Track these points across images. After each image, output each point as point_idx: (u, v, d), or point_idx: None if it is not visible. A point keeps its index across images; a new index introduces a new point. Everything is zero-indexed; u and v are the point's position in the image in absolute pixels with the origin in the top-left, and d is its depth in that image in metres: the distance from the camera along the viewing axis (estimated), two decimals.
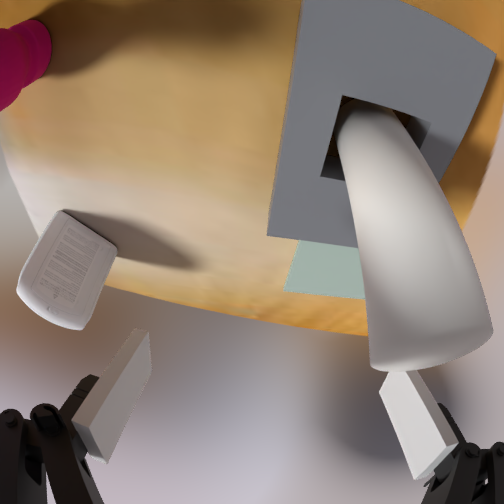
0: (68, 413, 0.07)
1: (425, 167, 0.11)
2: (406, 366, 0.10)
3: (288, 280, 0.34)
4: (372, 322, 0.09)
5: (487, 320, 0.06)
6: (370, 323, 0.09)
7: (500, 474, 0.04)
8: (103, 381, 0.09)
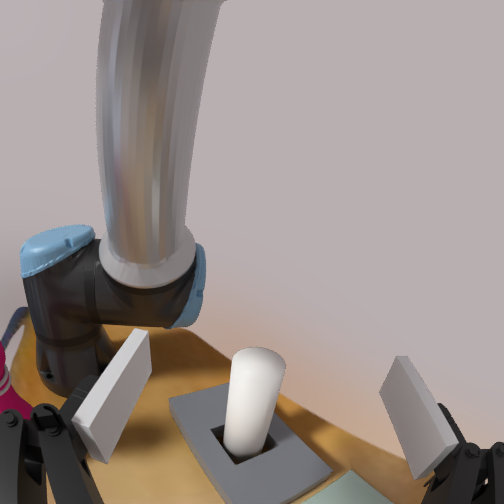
0: (68, 413, 0.07)
1: None
2: (267, 374, 0.23)
3: None
4: (235, 381, 0.24)
5: None
6: (237, 383, 0.24)
7: (500, 474, 0.04)
8: (103, 381, 0.09)
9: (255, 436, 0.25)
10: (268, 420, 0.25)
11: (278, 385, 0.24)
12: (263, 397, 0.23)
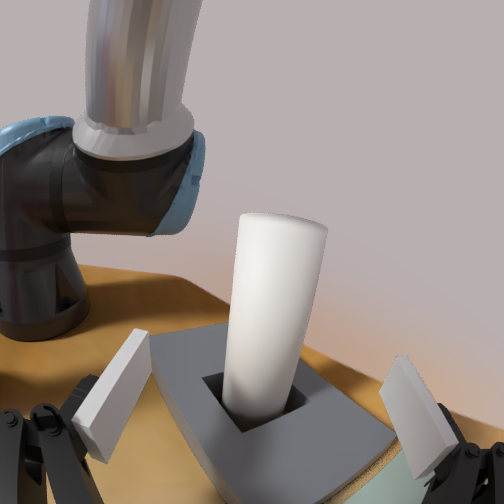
0: (68, 413, 0.07)
1: None
2: (301, 229, 0.14)
3: None
4: (246, 247, 0.15)
5: None
6: (248, 248, 0.15)
7: (500, 474, 0.04)
8: (103, 381, 0.09)
9: (277, 376, 0.16)
10: (299, 341, 0.16)
11: (319, 256, 0.15)
12: (295, 276, 0.14)
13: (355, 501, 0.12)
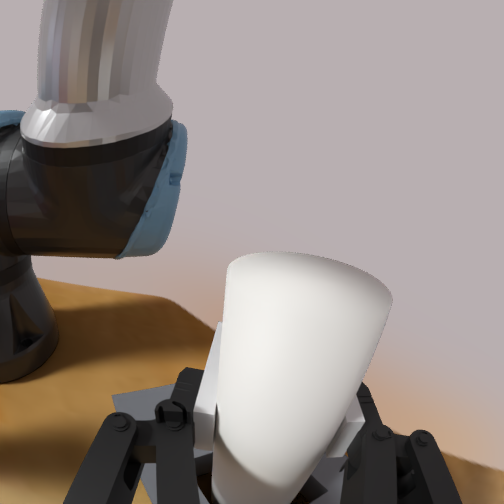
0: None
1: None
2: (351, 303, 0.07)
3: None
4: (239, 338, 0.07)
5: None
6: (244, 343, 0.07)
7: (429, 467, 0.06)
8: (210, 371, 0.11)
9: (287, 490, 0.09)
10: (323, 452, 0.09)
11: (375, 347, 0.07)
12: (332, 391, 0.07)
13: None
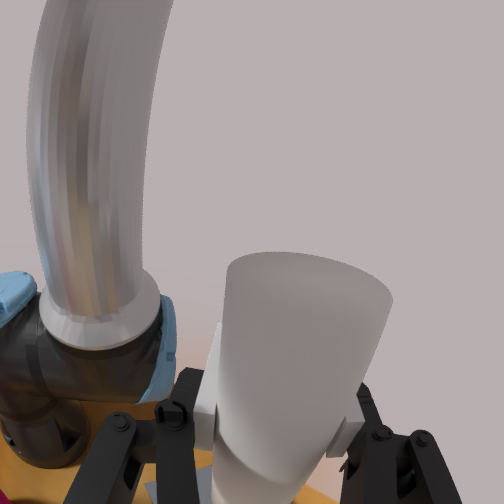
0: None
1: None
2: (351, 303, 0.07)
3: None
4: (239, 338, 0.07)
5: None
6: (243, 344, 0.07)
7: (429, 467, 0.06)
8: (210, 371, 0.11)
9: (286, 490, 0.09)
10: (323, 453, 0.09)
11: (375, 348, 0.07)
12: (332, 392, 0.07)
13: None
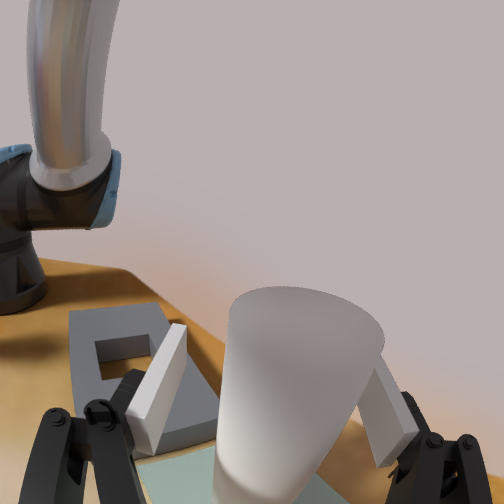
0: (116, 407, 0.09)
1: None
2: (344, 349, 0.07)
3: None
4: (240, 378, 0.07)
5: None
6: (245, 383, 0.07)
7: (471, 468, 0.05)
8: (151, 374, 0.10)
9: (282, 501, 0.09)
10: None
11: (366, 384, 0.08)
12: (324, 424, 0.07)
13: (177, 462, 0.16)
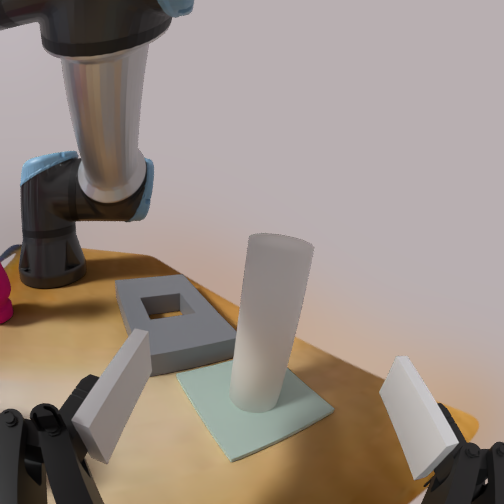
0: (68, 413, 0.07)
1: None
2: (294, 248, 0.20)
3: (217, 437, 0.20)
4: (253, 261, 0.20)
5: None
6: (255, 262, 0.20)
7: (500, 474, 0.04)
8: (103, 381, 0.09)
9: (275, 359, 0.22)
10: (292, 332, 0.22)
11: (307, 268, 0.20)
12: (289, 282, 0.20)
13: (205, 370, 0.29)
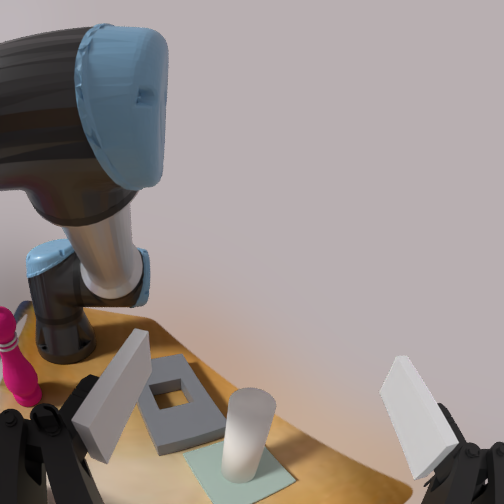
0: (68, 413, 0.07)
1: None
2: (260, 413, 0.25)
3: (213, 500, 0.25)
4: (232, 419, 0.25)
5: (246, 388, 0.29)
6: (233, 420, 0.25)
7: (500, 474, 0.04)
8: (103, 381, 0.09)
9: (250, 461, 0.27)
10: (261, 448, 0.27)
11: (269, 422, 0.26)
12: (256, 432, 0.25)
13: (203, 450, 0.34)
